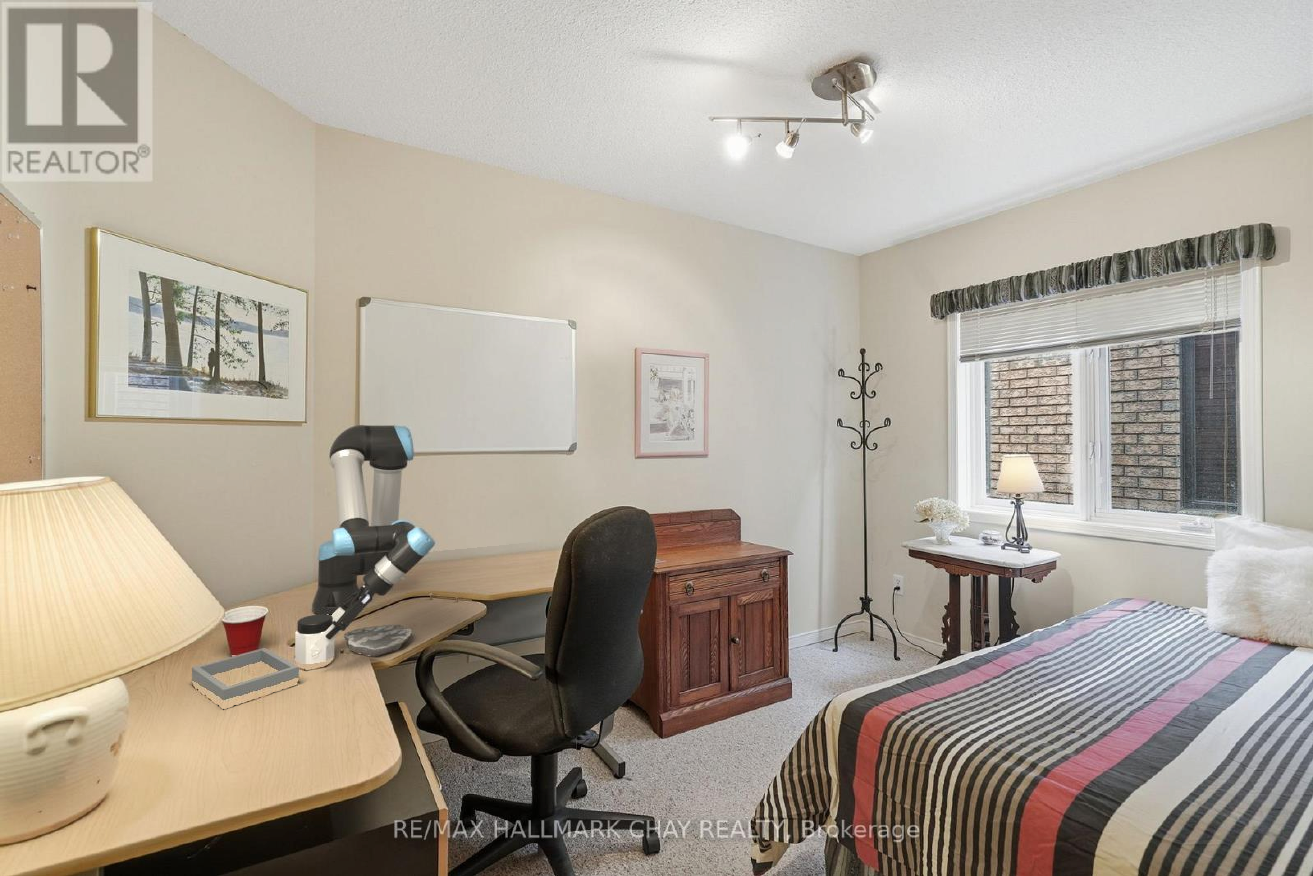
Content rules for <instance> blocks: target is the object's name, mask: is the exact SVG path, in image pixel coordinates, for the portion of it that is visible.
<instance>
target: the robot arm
mask: <svg viewBox="0 0 1313 876" xmlns="http://www.w3.org/2000/svg"><path fill="white" fill-rule="evenodd" d="M413 442H414V441H413V436H412V433H411V429H409V427H407V426H403V425H402V426H401V425H395V424H393V425H367V424H366V425H365V424H359V425H353V426H350V427H349V428H347V429H345V430H343V431H342V432H341V433H340V434H339V435H338V436H337V437H336V438H335V440H334V441H333V442H332V444H331V446H330V449H329V464H330V466H331V467H332V468H333V469H334V480H335V482H334V483H335V491H336V502H337V503H336V504H337V515H338V524H339V526H338V527H339V528H334V529H333V531H332V537H331V538H332V539H330V540H328V541H326V542H324V543H322V544H321V545H320V546H319V548H318V557H317V561H318V567H317V568H318V571H317V572H318V573H317V574H318V577H317V579H318V580H317V582H318V583H317V590H316V592H315V595H314V599H313V601H312V603H311V611H312V613H313V612H314V613H313V614H315V613H317V614H316V615H318V614H332V615H331V616H332V617H333V622H332V625H331V626H330V627H329V628H328V629H327V630H326V631H325V632H324V633H323V634H322V635H321V636H320V637H319V638H318V639H317V640H316V641H315V642H314V643H313V645H315V646H316V647H317V648H319V649H320V650H321V651H322V650H323V649H324V648H325V647H326V646H327V645H328V644H329V643H330V642H331V641H332V640H333V639H334V640H335V638H336V637H337V636H338V635H339V634H340V633H341V632H345V630H347V628H348V627H349V625H351V624H352V622H353V621H354V620H355V619H356V618H357V617H358V616H359V614H361V612H362V611H363V610H364V609H365V608H366V607H367V606H368V605H369V604H370V603H371V602H372V601H373V596H374V595H375V594H377V595H379V596H385V595H386V594H388V593H389V592H390V590H391V589H393V587H394V585H395V584H397V583H398V582H399V581H400V580H405V578H406V574H408V572H409V571H411V569H413V568H415V566H416V564H418V563H419V562H420V561H421V560H422V559H423V558H424V557H425V556H427V555H428V554H429V552H430V551H431V550H432V549H433V548H434V547H435V544H436V541H435V540H434V538H433V537H432V536H431V535H430V534H429V533H428V532H427V531H425V529H423V528H422V527H419V526H415V525H414V524H413V523H412V522H411V521H409V520H407V519H399V517H400V516H399V514H400V503H401V500H400V499H401V490H402V489H401V488H402V475H403V470H404V469H406V468H407V467H408V462H411V461H413V460H414V454H415V453H414V452H415V451H414V450H415V449H414V443H413ZM367 461H368V462H369V463H368V464H369V467H371V469H373V481H372V482H373V485H372V497H371V498H372V501H371V517H370V519H371V520H369V513H368V505H367V497H366V490H365V481H364V474H363V473H364V472H363V465H364V463H365V462H367ZM369 521H370V522H369ZM358 576H363V577H362V581H363V582H364V584H362V586H361V587H359V585H358Z"/></svg>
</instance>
